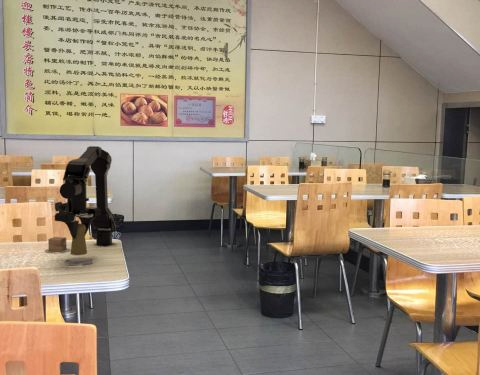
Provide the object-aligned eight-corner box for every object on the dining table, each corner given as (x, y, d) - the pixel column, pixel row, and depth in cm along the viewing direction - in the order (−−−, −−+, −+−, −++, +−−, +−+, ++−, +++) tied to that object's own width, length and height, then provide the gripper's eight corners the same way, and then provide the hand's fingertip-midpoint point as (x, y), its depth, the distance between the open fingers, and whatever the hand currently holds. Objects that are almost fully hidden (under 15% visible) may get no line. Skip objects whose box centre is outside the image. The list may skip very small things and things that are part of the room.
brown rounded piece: (82, 255, 194) (82, 225, 192) (67, 254, 195) (66, 224, 194) (90, 252, 199) (90, 223, 198) (75, 250, 201) (75, 222, 199)
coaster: (57, 248, 220) (57, 246, 220) (76, 251, 216) (76, 249, 216) (38, 252, 211) (38, 251, 211) (58, 255, 207) (57, 254, 207)
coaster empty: (77, 258, 204) (77, 256, 204) (98, 261, 200) (98, 259, 200) (58, 263, 195) (58, 262, 195) (80, 267, 191) (80, 265, 191)
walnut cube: (55, 248, 216) (54, 236, 216) (66, 249, 215) (66, 237, 215) (48, 251, 211) (48, 239, 211) (60, 252, 210) (60, 239, 210)
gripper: (78, 191, 206) (79, 230, 208) (42, 196, 190) (43, 239, 191) (101, 193, 202) (102, 233, 204) (66, 198, 185) (67, 242, 187)
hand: (78, 237), depth 196 cm, fingers closed on brown rounded piece, 5 cm apart
